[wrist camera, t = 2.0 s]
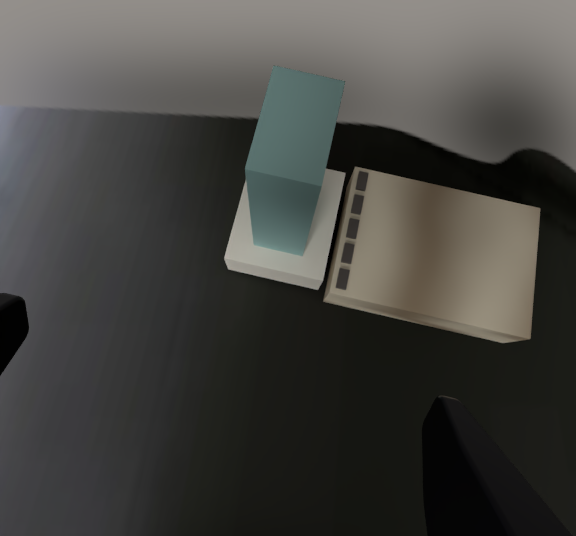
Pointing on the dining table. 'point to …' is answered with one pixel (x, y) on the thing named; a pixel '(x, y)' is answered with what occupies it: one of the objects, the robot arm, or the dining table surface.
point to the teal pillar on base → (289, 183)
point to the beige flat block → (435, 256)
